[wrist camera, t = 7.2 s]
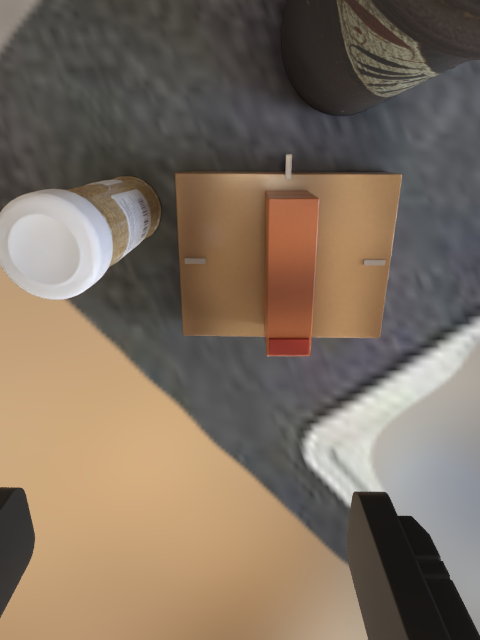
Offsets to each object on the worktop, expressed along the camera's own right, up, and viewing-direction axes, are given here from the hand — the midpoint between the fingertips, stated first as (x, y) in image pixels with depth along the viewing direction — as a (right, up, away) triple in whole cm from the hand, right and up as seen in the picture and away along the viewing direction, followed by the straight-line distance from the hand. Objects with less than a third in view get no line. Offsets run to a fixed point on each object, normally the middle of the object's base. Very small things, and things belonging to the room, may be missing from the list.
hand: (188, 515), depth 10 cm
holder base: (+4, +10, +20) cm, 23 cm away
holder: (+4, +9, +17) cm, 20 cm away
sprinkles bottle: (-6, +13, +20) cm, 24 cm away
